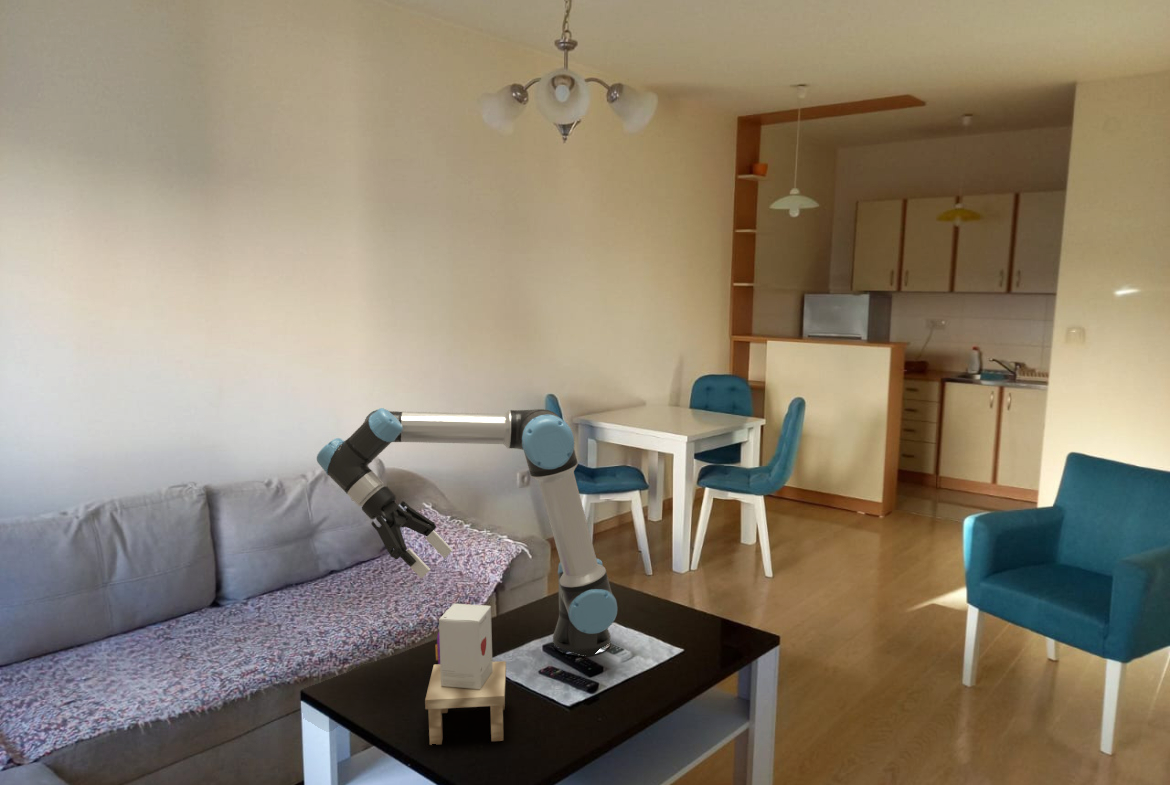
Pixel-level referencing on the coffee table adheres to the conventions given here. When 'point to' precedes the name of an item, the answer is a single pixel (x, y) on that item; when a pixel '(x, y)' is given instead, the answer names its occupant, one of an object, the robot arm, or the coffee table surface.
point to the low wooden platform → (466, 700)
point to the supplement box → (465, 646)
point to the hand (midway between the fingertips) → (437, 563)
